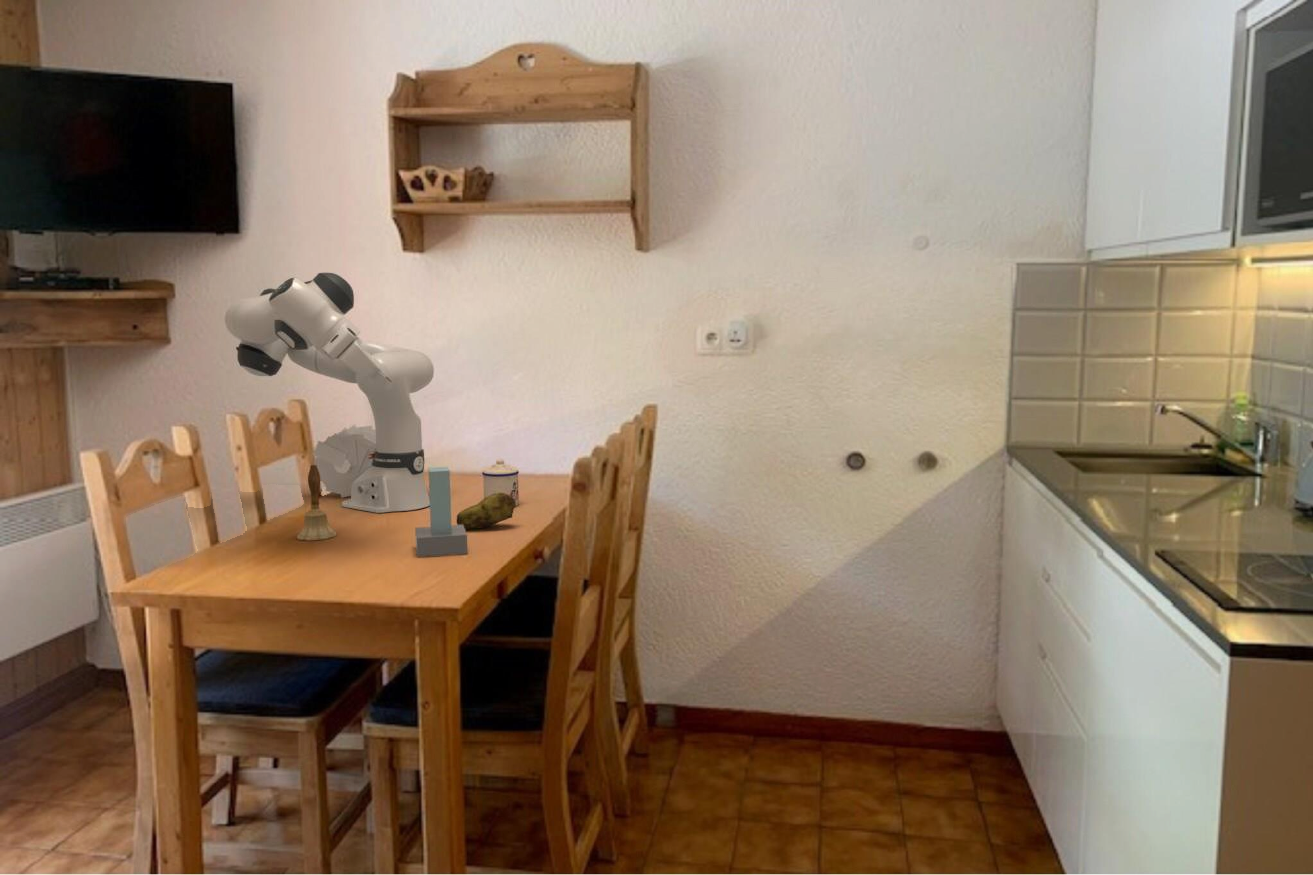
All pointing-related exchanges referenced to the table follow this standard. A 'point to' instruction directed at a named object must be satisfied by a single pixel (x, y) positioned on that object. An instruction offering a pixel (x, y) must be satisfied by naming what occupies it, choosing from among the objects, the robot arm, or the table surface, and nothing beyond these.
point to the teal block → (440, 500)
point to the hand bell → (315, 513)
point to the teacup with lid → (501, 480)
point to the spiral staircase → (345, 458)
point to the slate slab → (440, 542)
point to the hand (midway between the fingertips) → (390, 386)
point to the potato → (487, 511)
